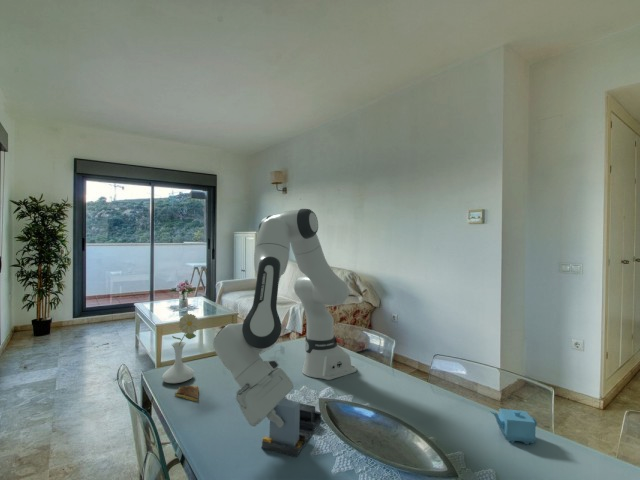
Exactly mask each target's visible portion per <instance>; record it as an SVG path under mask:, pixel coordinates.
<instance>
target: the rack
mask: <svg viewBox="0 0 640 480" xmlns="http://www.w3.org/2000/svg"><path fill="white" fill-rule="evenodd" d="M322 419H323V418H322V411H316V406H314V405H309V404H305V403H301V402H300V421H299V440H298V442H297V443H296V445H295V446H292V445H288V444H283V443H279V442H275V441H273V439H272V438H270V436H269V437H267V436H263V438H262V441H261V450H267V451H271V452H274V453H277V454H282V455H285V456H290V457H294V458H297V457H298V456H299V455H300V454H301V451H303V449H304V447H305V445H306V444H307V443H308V441H309V439H310V438H311V436H312V434H313V433H314V431H315V430H316V429H315V428H317V427H318V426H319V424H320V422H321V421H322Z"/></svg>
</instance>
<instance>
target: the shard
mask: <svg viewBox="0 0 640 480" xmlns="http://www.w3.org/2000/svg"><path fill="white" fill-rule="evenodd" d="M199 388H200V387H199V386H198V385H185V386H179V387H178V389H177V391H176V392H175V393H174V396H175V397H178V398H183V399H185V400H189V401H192V402H198V401H199V390H200V389H199Z"/></svg>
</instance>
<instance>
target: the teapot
mask: <svg viewBox="0 0 640 480" xmlns="http://www.w3.org/2000/svg"><path fill="white" fill-rule="evenodd" d="M490 413H491V414H493V416H494V417H495V420H496V424H497V425H498V428H499V430H500V431H501V433H502V435H503V436H504V438H505V440H507V441H508V442H510V443H512V444H514V443H515V442H522V443H523V444H524V445H530V443H533V444H536V426H538V422H537V419H535V418H534V417H533V416H531V415H530V414H529V413H528V412H527V410H520V409H519V410H518V409H517V410H516V409H509V408H499V409H498V413H497V412H495V411H490Z"/></svg>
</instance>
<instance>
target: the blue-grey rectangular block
mask: <svg viewBox="0 0 640 480" xmlns="http://www.w3.org/2000/svg"><path fill="white" fill-rule="evenodd" d="M287 399H288V398H287ZM287 399H282V400H281V401H280V402H279V403H278V404H277V406H276V407H275V408H274V410H275V411H276V413H275V414H276V415H278V416H279V417H283V418H284V420H285V421H286V422H285V424H284V425H283V426H282V427H281V428H279V427H278V426H277V425H276V423H274V422H272V421H270V420H269V437H270V438H272V439H273V441H275V442H279V443H283V444H288V445H292V446H295V445H296V443H297V442H298V440H299V421H300V403H301V402H300V401H297V400H292V399H288V400H287Z"/></svg>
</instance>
